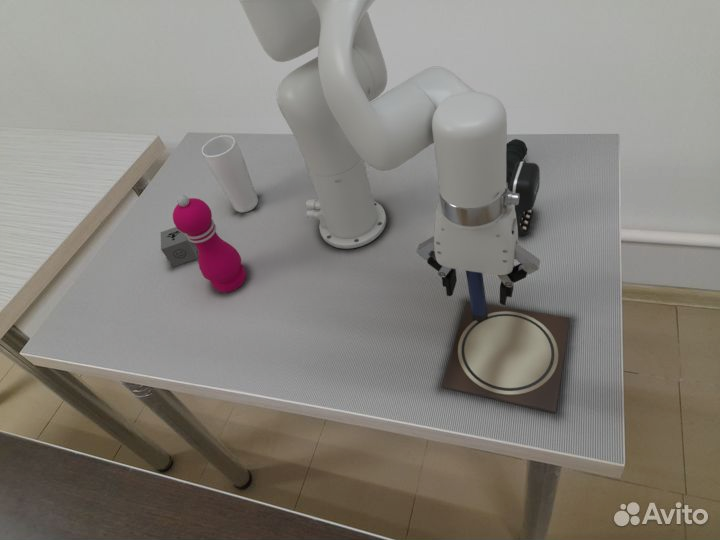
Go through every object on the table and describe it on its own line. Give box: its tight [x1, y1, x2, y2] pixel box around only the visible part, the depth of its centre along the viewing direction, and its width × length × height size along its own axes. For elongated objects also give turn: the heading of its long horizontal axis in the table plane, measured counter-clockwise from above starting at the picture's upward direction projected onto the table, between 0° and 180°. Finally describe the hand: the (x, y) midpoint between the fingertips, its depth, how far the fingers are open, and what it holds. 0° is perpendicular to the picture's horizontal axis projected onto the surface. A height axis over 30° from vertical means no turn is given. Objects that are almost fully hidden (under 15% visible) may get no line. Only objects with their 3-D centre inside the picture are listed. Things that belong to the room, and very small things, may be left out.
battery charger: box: [509, 160, 541, 236], centre depth 85 cm, size 7×4×11 cm, turn 157°
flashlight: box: [506, 138, 529, 189], centre depth 94 cm, size 5×21×5 cm, turn 155°
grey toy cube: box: [160, 226, 199, 268], centre depth 100 cm, size 5×5×5 cm
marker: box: [465, 271, 488, 321], centre depth 75 cm, size 2×2×11 cm
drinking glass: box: [201, 134, 259, 214], centre depth 103 cm, size 7×7×15 cm
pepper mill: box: [172, 194, 247, 293], centre depth 88 cm, size 7×7×20 cm
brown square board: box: [441, 300, 570, 414], centre depth 74 cm, size 15×15×1 cm
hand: (477, 291), depth 74 cm, fingers open, 6 cm apart
